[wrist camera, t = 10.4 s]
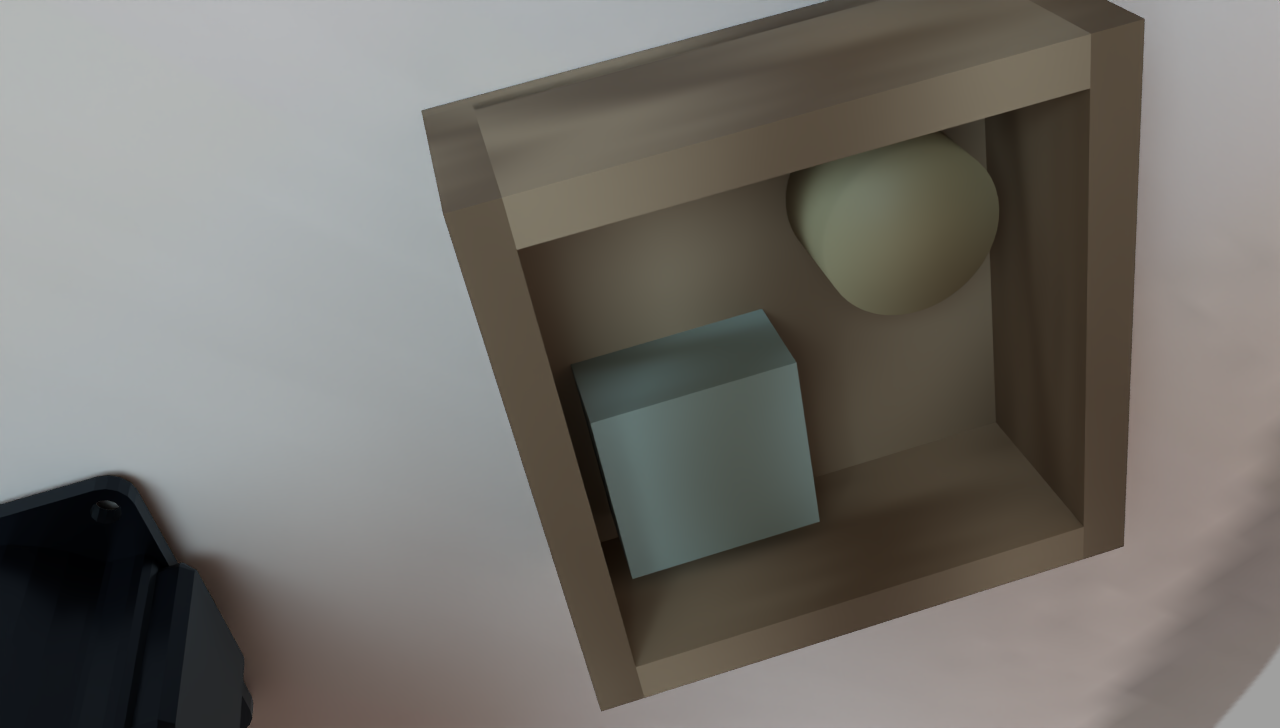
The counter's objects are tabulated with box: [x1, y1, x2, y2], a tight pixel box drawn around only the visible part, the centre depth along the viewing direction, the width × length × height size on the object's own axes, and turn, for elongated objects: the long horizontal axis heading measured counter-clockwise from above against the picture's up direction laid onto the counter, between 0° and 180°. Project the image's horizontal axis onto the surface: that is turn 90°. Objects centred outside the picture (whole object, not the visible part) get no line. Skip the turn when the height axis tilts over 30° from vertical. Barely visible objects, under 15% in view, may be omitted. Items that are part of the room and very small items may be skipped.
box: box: [422, 0, 1145, 711], centre depth 21 cm, size 10×10×4 cm
